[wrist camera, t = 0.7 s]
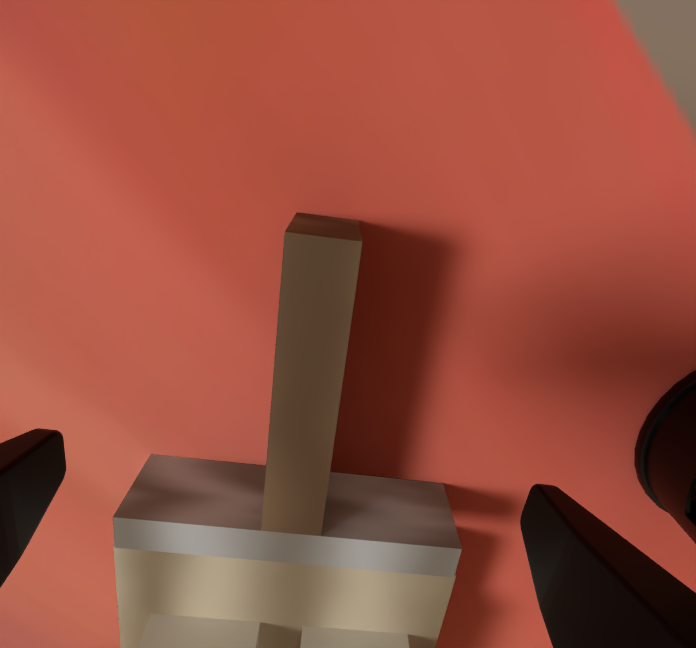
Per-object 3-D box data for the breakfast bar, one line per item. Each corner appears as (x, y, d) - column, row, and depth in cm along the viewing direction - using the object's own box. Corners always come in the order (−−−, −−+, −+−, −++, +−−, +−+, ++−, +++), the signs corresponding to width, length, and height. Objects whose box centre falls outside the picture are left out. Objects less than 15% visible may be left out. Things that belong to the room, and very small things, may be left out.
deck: (147, 647, 27) (124, 706, 24) (141, 495, 23) (113, 545, 20) (405, 666, 28) (412, 725, 25) (443, 524, 24) (456, 575, 21)
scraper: (152, 480, 23) (114, 547, 19) (143, 192, 18) (90, 207, 14) (436, 507, 24) (453, 577, 20) (504, 239, 19) (544, 264, 15)
